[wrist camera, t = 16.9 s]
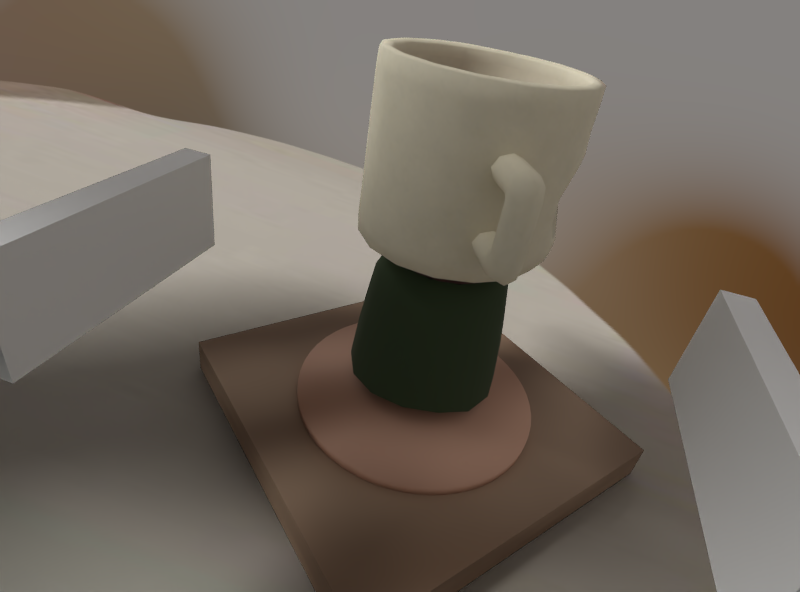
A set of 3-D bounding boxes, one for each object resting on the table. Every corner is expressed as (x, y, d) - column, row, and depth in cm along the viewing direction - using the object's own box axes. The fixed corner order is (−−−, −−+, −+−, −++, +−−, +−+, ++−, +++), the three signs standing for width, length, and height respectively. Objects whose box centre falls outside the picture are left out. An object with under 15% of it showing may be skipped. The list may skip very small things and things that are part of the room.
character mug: (538, 475, 19) (701, 123, 12) (347, 480, 18) (408, 84, 11) (465, 306, 28) (535, 47, 21) (334, 301, 27) (362, 20, 20)
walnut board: (200, 367, 24) (198, 335, 23) (435, 303, 32) (441, 276, 31) (352, 663, 15) (359, 631, 14) (629, 473, 23) (647, 444, 22)
